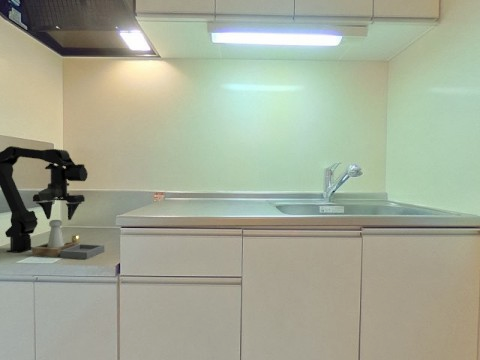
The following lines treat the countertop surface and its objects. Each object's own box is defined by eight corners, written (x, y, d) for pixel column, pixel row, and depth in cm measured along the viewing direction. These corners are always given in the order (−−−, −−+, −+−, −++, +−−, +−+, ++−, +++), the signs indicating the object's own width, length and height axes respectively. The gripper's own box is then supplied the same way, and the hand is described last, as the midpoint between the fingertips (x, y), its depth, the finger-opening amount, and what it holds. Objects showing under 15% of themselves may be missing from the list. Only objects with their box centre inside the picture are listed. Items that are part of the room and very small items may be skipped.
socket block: (32, 255, 116) (32, 247, 116) (54, 248, 128) (54, 241, 127) (57, 257, 115) (57, 249, 115) (77, 249, 126) (77, 242, 126)
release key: (59, 249, 125) (59, 238, 125) (74, 244, 134) (74, 234, 134) (66, 250, 125) (66, 239, 125) (80, 244, 134) (80, 234, 134)
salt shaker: (60, 249, 125) (60, 218, 125) (66, 252, 122) (66, 220, 121) (44, 252, 121) (44, 220, 120) (50, 255, 117) (50, 221, 117)
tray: (60, 257, 115) (60, 250, 115) (79, 249, 126) (79, 243, 126) (86, 259, 113) (86, 252, 113) (104, 251, 124) (104, 245, 124)
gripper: (21, 180, 115) (21, 222, 116) (66, 182, 113) (66, 223, 113) (43, 180, 126) (43, 217, 127) (85, 181, 124) (85, 219, 124)
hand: (58, 219), depth 122 cm, fingers open, 9 cm apart
